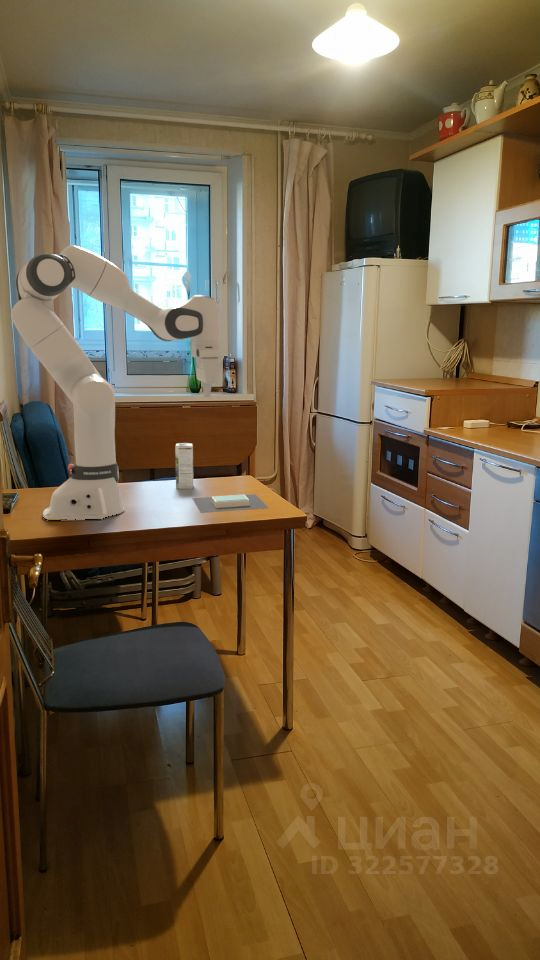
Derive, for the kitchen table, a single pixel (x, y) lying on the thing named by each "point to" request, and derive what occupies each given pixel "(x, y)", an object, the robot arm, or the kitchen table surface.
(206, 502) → the mat
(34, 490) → the kitchen table surface
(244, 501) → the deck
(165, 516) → the kitchen table surface
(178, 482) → the syrup box
